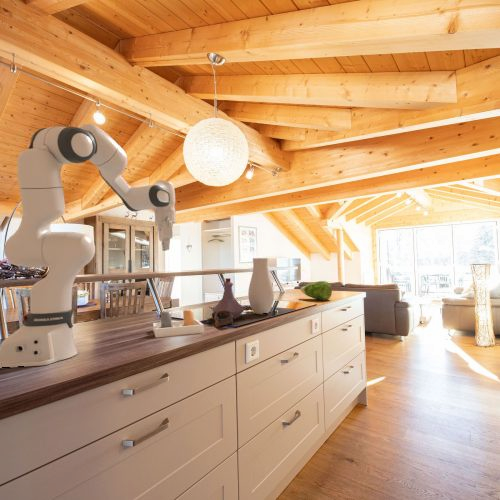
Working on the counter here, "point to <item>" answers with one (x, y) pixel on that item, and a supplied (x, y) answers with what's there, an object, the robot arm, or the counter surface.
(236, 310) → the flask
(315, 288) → the lettuce
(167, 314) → the charcoal jaw peg
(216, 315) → the pottery mug
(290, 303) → the counter surface
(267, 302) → the vase
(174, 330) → the housing
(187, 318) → the orange cylinder
